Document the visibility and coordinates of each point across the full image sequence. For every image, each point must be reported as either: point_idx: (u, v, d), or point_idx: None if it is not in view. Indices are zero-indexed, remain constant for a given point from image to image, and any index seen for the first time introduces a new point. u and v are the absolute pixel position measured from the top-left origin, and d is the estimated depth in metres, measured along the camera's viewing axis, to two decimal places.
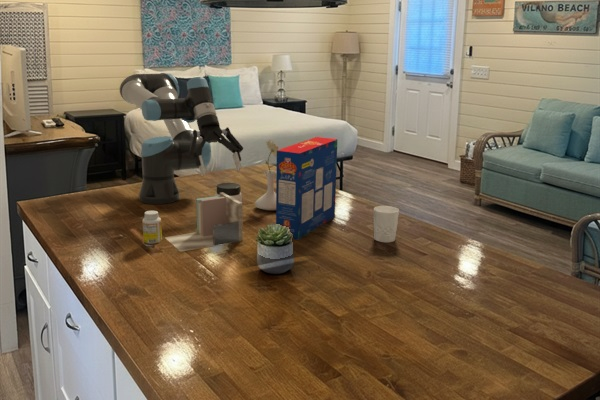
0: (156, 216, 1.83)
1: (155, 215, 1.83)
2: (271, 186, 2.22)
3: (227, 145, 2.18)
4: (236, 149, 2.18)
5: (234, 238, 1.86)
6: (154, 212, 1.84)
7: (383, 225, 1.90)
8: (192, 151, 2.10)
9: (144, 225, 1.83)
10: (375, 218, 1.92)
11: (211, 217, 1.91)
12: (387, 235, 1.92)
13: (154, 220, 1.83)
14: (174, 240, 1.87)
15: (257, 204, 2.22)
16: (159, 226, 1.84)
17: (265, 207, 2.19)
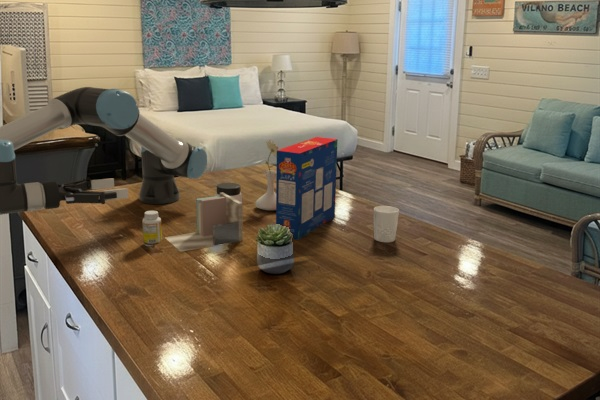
0: (156, 216, 1.83)
1: (155, 215, 1.83)
2: (271, 186, 2.22)
3: None
4: None
5: (234, 238, 1.86)
6: (154, 212, 1.84)
7: (383, 225, 1.90)
8: None
9: (144, 225, 1.83)
10: (375, 218, 1.92)
11: (211, 217, 1.91)
12: (387, 235, 1.92)
13: (154, 220, 1.83)
14: (174, 240, 1.87)
15: (257, 204, 2.22)
16: (159, 226, 1.84)
17: (265, 207, 2.19)
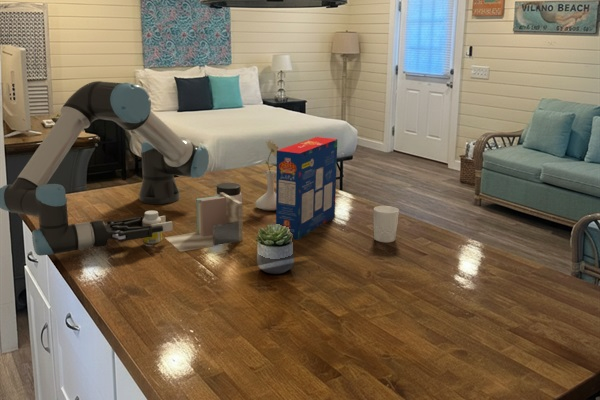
0: (156, 216, 1.83)
1: (155, 215, 1.83)
2: (271, 186, 2.22)
3: None
4: None
5: (234, 238, 1.86)
6: (154, 212, 1.84)
7: (383, 225, 1.90)
8: None
9: (144, 225, 1.83)
10: (375, 218, 1.92)
11: (211, 217, 1.91)
12: (387, 235, 1.92)
13: (154, 220, 1.83)
14: (174, 240, 1.87)
15: (257, 204, 2.22)
16: None
17: (265, 207, 2.19)
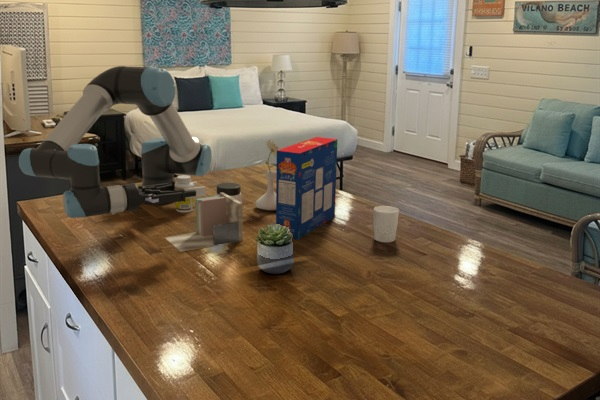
0: (189, 180, 1.78)
1: (188, 179, 1.77)
2: (271, 186, 2.22)
3: None
4: None
5: (234, 238, 1.86)
6: (187, 176, 1.78)
7: (383, 225, 1.90)
8: None
9: None
10: (375, 218, 1.92)
11: (211, 217, 1.91)
12: (387, 235, 1.92)
13: (187, 184, 1.77)
14: (174, 240, 1.87)
15: (257, 204, 2.22)
16: None
17: (265, 207, 2.19)
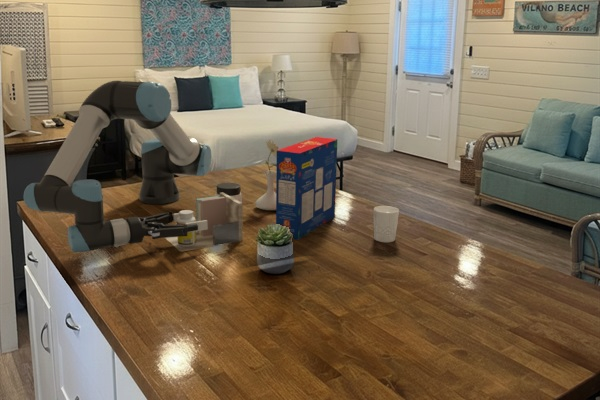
0: (191, 216, 1.81)
1: (190, 214, 1.80)
2: (271, 186, 2.22)
3: None
4: None
5: (234, 238, 1.86)
6: (189, 211, 1.81)
7: (383, 225, 1.90)
8: None
9: None
10: (375, 218, 1.92)
11: (211, 217, 1.91)
12: (387, 235, 1.92)
13: (189, 220, 1.80)
14: (174, 240, 1.87)
15: (257, 204, 2.22)
16: None
17: (265, 207, 2.19)
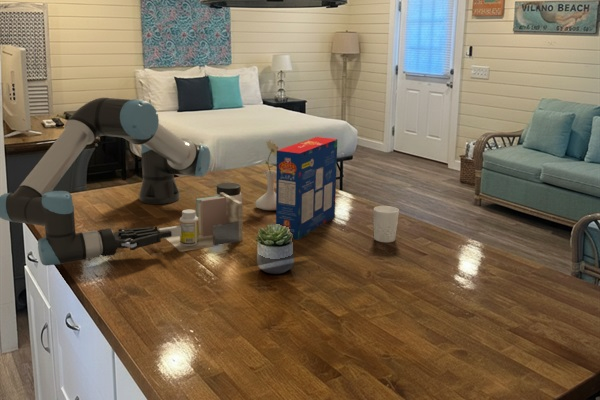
0: (194, 215, 1.81)
1: (193, 214, 1.81)
2: (271, 186, 2.22)
3: None
4: None
5: (234, 238, 1.86)
6: (192, 211, 1.81)
7: (383, 225, 1.90)
8: None
9: (181, 224, 1.80)
10: (375, 218, 1.92)
11: (211, 217, 1.91)
12: (387, 235, 1.92)
13: (192, 219, 1.80)
14: (174, 240, 1.87)
15: (257, 204, 2.22)
16: (196, 225, 1.82)
17: (265, 207, 2.19)
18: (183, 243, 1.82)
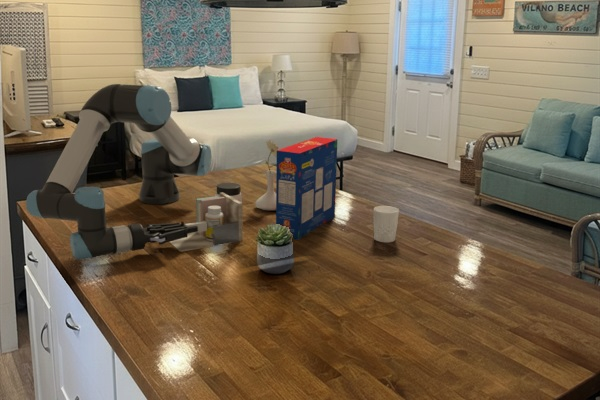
0: (219, 211, 1.85)
1: (218, 210, 1.85)
2: (271, 186, 2.22)
3: None
4: None
5: (234, 238, 1.86)
6: (217, 207, 1.86)
7: (383, 225, 1.90)
8: None
9: (207, 219, 1.85)
10: (375, 218, 1.92)
11: None
12: (387, 235, 1.92)
13: (217, 215, 1.85)
14: (174, 240, 1.87)
15: (257, 204, 2.22)
16: (222, 221, 1.86)
17: (265, 207, 2.19)
18: (208, 238, 1.86)
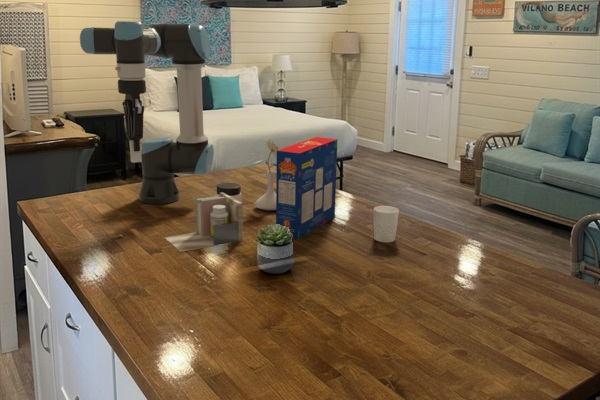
0: (224, 210, 1.86)
1: (223, 209, 1.86)
2: (271, 186, 2.22)
3: None
4: (131, 136, 1.73)
5: (234, 238, 1.86)
6: (222, 206, 1.87)
7: (383, 225, 1.90)
8: (127, 131, 1.76)
9: (212, 219, 1.86)
10: (375, 218, 1.92)
11: None
12: (387, 235, 1.92)
13: (222, 214, 1.86)
14: (174, 240, 1.87)
15: (257, 204, 2.22)
16: (226, 220, 1.87)
17: (265, 207, 2.19)
18: None
